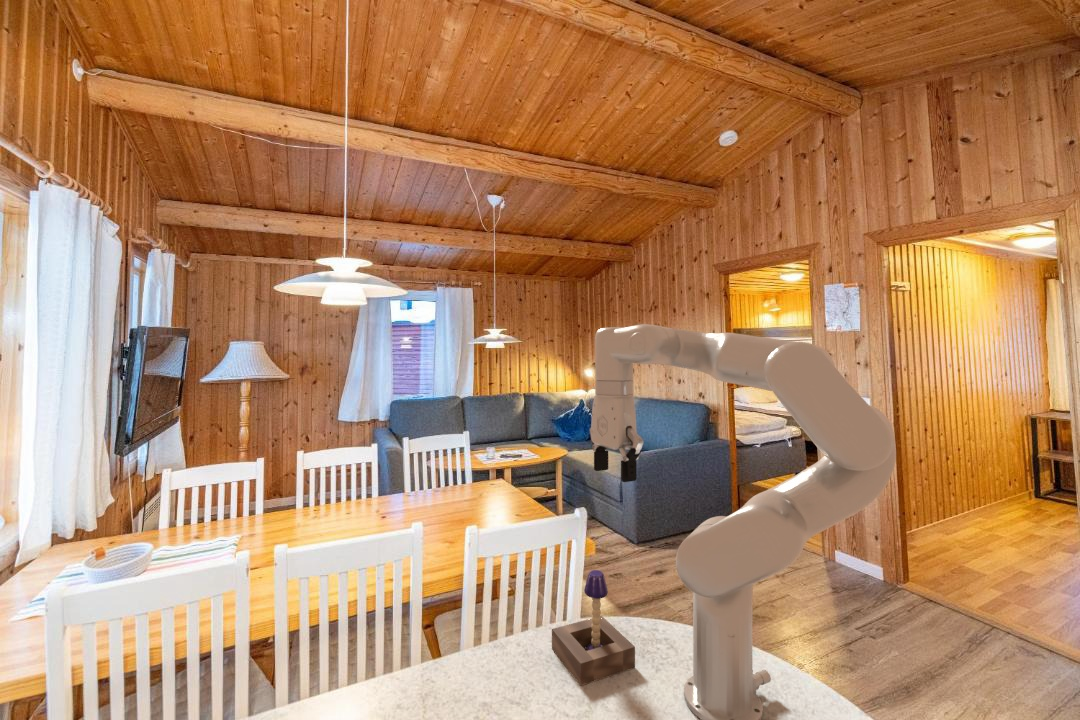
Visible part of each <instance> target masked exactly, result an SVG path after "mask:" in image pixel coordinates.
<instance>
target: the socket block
mask: <svg viewBox="0 0 1080 720" xmlns="http://www.w3.org/2000/svg"><path fill="white" fill-rule="evenodd" d="M600 618H602V619H601V621H600V638H599V639H600V644H601V645H602V647H598V648H595V649H592V650H588V651H586V648H587V647H588V645H590V644H591V640H592V635H591V633H592V627H591V626H592V617H591V618H589V619H590V620H588V619H584V620H581V621H577V622H573V623H570V624H569V623H568V624H565V625H561V626H558V627H554V628H551V649H552V651H553V652H554V653H555V655H556V656H557V657H558V659H560V661H561V663H562V664H563V665H564V666H565V667H566V669H567V670H568V671H569V672H570V674H571V675H572V677H573V678H574V680H576V682H577V683H578V684H579V686H584V685H586V684H591V683H593V682H596V681H599V680H602V679H604V678H605V679H606V678H608V677H611V676H614V675H618V674H620V673H622V672H623V673H624V672H625V671H629V670H632V669H635V668H636V647H635V645H634V644H632V642H631V641H629V639H627V637H625V636H624V635H623V634H622V633H621V632H620V631H619V630H618V629H617V628H616V627H614V625H612V623H610V622H609V621H608V620H607V619H606V618H605V617H604V616H602V615H600Z"/></svg>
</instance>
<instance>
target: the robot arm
mask: <svg viewBox="0 0 1080 720" xmlns="http://www.w3.org/2000/svg"><path fill="white" fill-rule="evenodd" d="M594 337H595V338H594V347H595V349H594V350H595V351H594V352H595V353H594V355H595V359H594V362H595V363H594V364H595V366H594V368H595V369H594V370H595V371H594V372H595V378H594V379H595V380H594V386H595V387H594V388H595V389H594V392H595V393H594V394H595V395H594V398H593V403H592V409H591V421H590V422H591V424H590V426H591V427H590V428H589V435H590V441H591V443H592V450H593V470H594V471H595V472H599V471H600V472H601V471H602V472H603V471H609V450H607V449H610V450H613V451H615V450H619V453H620V455H621V457H622V460H620V481H621V482H622V483H629V482H635V481H637V480H638V479H637V478H638V477H637V476H638V474H637V467H638V465H637V461H638V460H639V458H640V457H639V456H640V455H641V453H642V448H643V445H644V439H643V438H642V437H641V436H640V434H638V433H637V431H638V429H637V413H636V406H635V401H634V364H637V365H662V366H663V365H665V366H669V367H676V368H682V369H688V370H692V371H697V372H700V373H705V374H706V375H709V376H710V377H712V378H713V379H715V380H716V381H720V382H723V383H728V384H732V385H733V384H734V385H739V386H744V387H750V388H754V389H758V390H764V391H769V392H772V393H773V394H774V395H775V396H776V398H777V399H778V401H779V402H780V404H782V406H783V407H784V408H785V410H786V411H787V412H788V414H790V416H791V417H792V418H793V420H794V421H795V422H796V423H797V425H799V427H800V428H801V429H802V430H803V432H804V433H805V434H806V436H807V437H808V438H809V439H810V440H811V442H812V443H813V444H814V445H815V446H816V448H817V449H818V450H819V451H820V452H821V454H822V455H823V456H822V457H821V458H820V459H819V460H818V461H816V462H815V463H813V464H811V465H810V466H808V467H806V468H805V469H803V470H802V471H800V472H799V473H797V474H796V475H793V476H791V477H789V478H788V479H786V480H784V481H782V482H780V483H779V484H777V485H774V486H773V487H771V488H769V489H766V490H764V491H761V492H759V493H757V494H756V495H755V494H754V496H752V497H751V498H750V499H748V501H746V503H744V504H743V506H741V507H740V508H738V509H737V510H736V511H734V512H732V513H731V514H729V515H727V516H725V515H719V516H713V517H710V518H708V519H706V520H704V521H702V523H700V525H698V526H697V527H696V528H694V530H693V531H692V532H691V533H690V534H688V535H687V537H685V539H684V540H682V542H681V543H680V545H679V546H678V548H677V551H676V555H675V567H676V572H677V575H678V577H679V579H680V581H681V583H683V585H684V586H685V587H686V588H687V589H688V590H689V591H691V592H692V593H693V595H692V596H693V597H692V642H693V643H692V646H693V647H692V665H693V666H692V668H693V669H692V676H690V678H688V679H687V681H685V682H684V683H685V684H684V686H683V695H684V701H685V703H686V705H687V707H688V708H689V710H690V711H691V712H692V713H693V714H694V715H695V716H696V717H698V718H699V719H700V720H762V719H763V716H764V715H763V714H764V709H763V708H764V707H763V703H762V700H761V698H760V697H759V696H758V694H757V690H759V689H760V686H764V685H766V684H768V683H771V680H772V677H771V675H770V673H769V672H768V671H767V670H765V669H762V670H759V671H757V672H755V673H754V670H753V600H754V599H753V598H754V597H753V596H754V595H753V594H754V592H753V591H754V584H757V583H759V582H761V581H763V580H766V579H768V578H770V577H772V576H774V575H776V574H779V573H780V572H782V571H784V570H785V569H787V568H788V567H789V566H791V565H792V564H794V562H795V561H796V560H797V559H798V558H799V557H800V555H801V554H802V552H803V549H804V548H805V545H806V544H807V542H809V540H810V539H811V538H813V537H814V536H816V535H818V534H820V533H822V532H824V531H825V530H827V529H829V528H831V527H833V526H835V525H837V524H839V523H841V522H842V521H845V520H847V519H848V518H850V517H852V516H854V515H856V514H857V513H859V512H861V511H863V510H864V509H865V508H867V507H868V506H869V505H870V504H872V503H873V502H874V501H875V500H876V499H877V498H878V497H879V496H880V495H881V494H882V493H883V492H884V490H885V488H887V487H886V486H887V485H888V484H889V481H890V479H891V477H892V475H893V472H894V469H895V465H896V460H897V448H896V447H897V446H896V438H895V437H896V436H895V434H894V433H895V432H894V428H893V425H892V423H891V420H890V419H889V418H888V416H886V414H885V413H884V412H882V411H881V410H879V409H878V408H876V407H875V406H872V405H870V404H869V403H868V402H867V401H866V400H865V399H864V398H863V397H862V396H861V395H860V394H859V393H858V391H857V390H856V389H855V388H854V387H853V386H852V385H851V384H850V383H849V382H848V381H847V379H846V378H845V376H843V375H842V373H841V372H840V370H839V369H837V367H836V366H835V362H834V359H833V357H832V356H831V354H830V353H829V352H828V351H827V350H826V349H825V348H823V347H821V346H820V345H817V344H813V343H810V342H807V341H806V342H805V341H804V342H803V341H795V340H794V341H793V340H786V339H779V338H778V339H777V338H771V337H763V336H756V335H751V334H750V335H748V334H743V333H735V332H719V333H711V332H710V333H709V332H702V331H701V332H700V331H693V330H686V329H681V328H674V327H667V326H662V325H657V324H656V325H655V324H650V323H649V324H648V323H641V324H637V325H631V326H627V327H626V326H625V327H623V326H622V327H621V326H620V327H617V326H615V327H613V326H612V327H611V326H610V327H601V328H600V329H598V330H597V331H596V333H595V336H594Z"/></svg>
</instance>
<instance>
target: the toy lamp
mask: <svg viewBox="0 0 1080 720" xmlns="http://www.w3.org/2000/svg"><path fill="white" fill-rule="evenodd" d="M608 590H609V589H608V586H607V583H606V578H605V574H604V573H603V572H602V571H601V570H598V569H593V570H591V571H589V572H588V574H587V578H586V581H585V585H584V594H585V595H586V596H587V597H589V598H591V599H592V600H591V607H592V609H591V615H592V616H591V618H592V626H591V627H592V633H591V635H592V640H591V644H590V645H588V647H587V648H585V650H586V651H588V650H592V649H595V648H598V647H602V645H601V644H600V639H599V638H600V621H601V618H600V616H601V611H602V609H601V607H602V606H601V605H602V603H601V599H603V598H605V597H607V595H608V592H609V591H608Z"/></svg>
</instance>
